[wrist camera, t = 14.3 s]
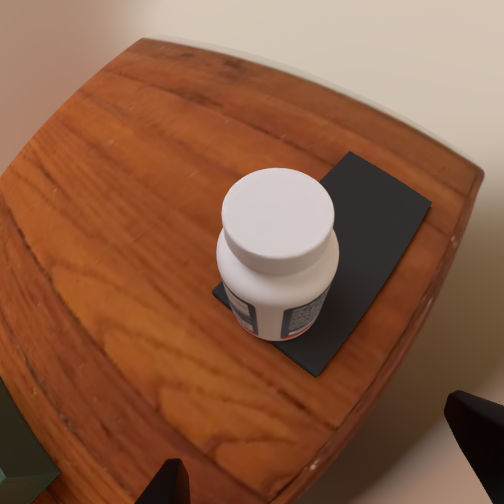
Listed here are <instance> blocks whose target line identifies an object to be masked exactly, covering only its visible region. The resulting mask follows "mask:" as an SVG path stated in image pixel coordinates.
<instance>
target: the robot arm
mask: <svg viewBox="0 0 504 504" xmlns="http://www.w3.org/2000/svg"><path fill="white" fill-rule="evenodd" d="M444 415H445V418H446V420H447V422H448V424H449V426H450V428H451V430H452V432H453V434H454V437H455V439H456V441H457V443H458V445H459V447H460V449H461V450H462V452H463V453H464V455H465V457H466V458H467V460H468V462H469V463H470V465H471V467H472V468H473V470H474V472H475V473H476V475H477V477H478V478H479V480H480V482H481V483H482V485H483V487H484V489H485V490H486V492H487V494H488V496H489V497H490V499H491V501H492V503H493V504H504V406H503V405H500V404H497V403H494V402H491V401H489V400H486V399H483V398H480V397H477V396H475V395H472V394H469V393H466V392H464V391H460V390H457V391H455V392H453V393H450V394H449V396H448V398H447V402H446V405H445V409H444ZM134 504H190V489H189V476H188V473H187V471H186V469H185V467H184V465H183V462H182V461H181V459H179V458H174V459H167V460H166V461H165V463H164V464H163V465H162V467H161V468H160V469H159V471H158V472H157V474H156V475H155V476H154V478H153V479H152V480H151V482H150V483H149V485H148V486H147V487H146V489H145V490H144V491H143V493H142V494H141V495H140V497H139V498H138V499H137V501H136V502H135V503H134Z"/></svg>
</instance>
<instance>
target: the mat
mask: <svg viewBox="0 0 504 504" xmlns="http://www.w3.org/2000/svg"><path fill="white" fill-rule="evenodd" d="M319 183H320V184H321V185H322V186H323V188H324V189H325V190H326V191H327V193H328V195H329V196H330V198H331V200H332V203H333V207H334V223H333V230H334V232H335V234H336V237H337V241H338V246H339V261H338V266H337V270H336V273H335V276H334V278H333V281H332V283H331V286H330V288H329V290H328V293H327V295H326V298H325V300H324V302H323V305H322V307H321V309H320V312H319V314H318V316H317V318H316V320H315V321H314V323H313V324H312V325H311V326H310V327H309V328H308V329H307V330H306V331H305V332H304V333H302V334H300V335H299V336H297V337H294V338H292V339H288V340H283V341H270V340H268V341H269V342H270V343H272V344H273V345H274V346H275V347H277V348H278V349H279V350H280V351H282V352H283V353H284V354H285V355H287V356H288V357H289V358H290V359H292V360H293V361H294V362H296V363H297V364H298V365H299V366H301V367H302V368H303V369H305V370H306V371H307V372H308V373H310V374H311V375H312V376H314V377H317V376H318V374H319V373H320V372H321V371H322V369H323V368H324V367H325V366H326V364H327V363H328V362H329V361H330V359H331V358H332V357H333V355H334V354H335V353H336V351H337V350H338V349H339V347H340V346H341V345H342V343H343V342H344V341H345V339H346V338H347V337H348V335H349V334H350V333H351V331H352V330H353V328H354V327H355V326H356V324H357V323H358V321H359V320H360V319H361V317H362V316H363V314H364V313H365V311H366V310H367V309H368V307H369V306H370V304H371V303H372V301H373V300H374V298H375V297H376V295H377V294H378V292H379V291H380V289H381V288H382V286H383V285H384V283H385V282H386V280H387V278H388V277H389V275H390V274H391V272H392V271H393V269H394V267H395V266H396V264H397V263H398V261H399V259H400V258H401V256H402V254H403V253H404V251H405V249H406V248H407V246H408V244H409V243H410V241H411V239H412V237H413V236H414V234H415V232H416V230H417V229H418V227H419V225H420V223H421V222H422V220H423V218H424V216H425V214H426V212H427V211H428V209H429V207H430V205H431V203H432V202H431V201H429V200H428V199H426V198H425V197H423V196H422V195H420V194H419V193H417V192H416V191H414V190H413V189H411V188H410V187H408V186H407V185H405V184H404V183H402V182H401V181H399V180H397V179H396V178H394V177H393V176H391V175H389V174H388V173H386V172H385V171H383V170H381V169H380V168H378V167H376V166H375V165H373V164H371V163H369V162H368V161H366V160H364V159H363V158H361V157H359V156H357V155H356V154H354V153H352V152H350V151H349V152H348V153H347V154H346V155H345V156H344V157H343V158H342V159H341V160H340V161H339V162H338V163H337V164H336V165H335V166H334V168H333V169H332V170H331V171H330V172H329V173H328V174H327V175H326V176H325V177H324V178H323V179H322V180H321V181H320V182H319ZM212 293H213V295H214V296H215V297H216V298H217V299H218V300H219V301H221V302H222V303H223V304H224V305H225V306H227V307H228V308H229V309H230V310H231V311H232V308H231V305H230V302H229V299H228V296H227V294H226V291H225V288H224V285H223V282H221V283H220V284H219V285H218V286H217V287H216V288H215V289H214V290H213V291H212Z"/></svg>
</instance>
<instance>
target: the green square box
mask: <svg viewBox="0 0 504 504" xmlns="http://www.w3.org/2000/svg"><path fill="white" fill-rule="evenodd" d="M60 473H61V471H60V470H59V469H58V468H57V466H56V465H55V464H54V462H53V461H52V460H51V458H50V457H49V456H48V454H47V453H46V452H45V450H44V449H43V447H42V446H41V444H40V443H39V442H38V440H37V439H36V437H35V436H34V434H33V433H32V431H31V430H30V428H29V427H28V425H27V423H26V422H25V420H24V419H23V417H22V415H21V414H20V412H19V410H18V409H17V407H16V405H15V403H14V402H13V400H12V398H11V396H10V395H9V393H8V391H7V389H6V387H5V385H4V383H3V381H2V379H1V377H0V504H31V503H32V502H33V501H34V500H35V499H36V498H37V497H38V496H39V495H40V494H41V493H42V492H43V491H44V490H45V489H46V488H47V487H48V485H49V484H50V483H51V482H52V481H53V480H54V479H55V478H56V477H57V476H58V475H59V474H60Z"/></svg>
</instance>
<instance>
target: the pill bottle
mask: <svg viewBox="0 0 504 504" xmlns="http://www.w3.org/2000/svg"><path fill="white" fill-rule="evenodd" d="M222 223H223V229H222V231H221V233H220V236H219V238H218V243H217V253H216V255H217V263H218V268H219V272H220V276H221V279H222V282H223V285H224V288H225V291H226V294H227V296H228V299H229V302H230V305H231V308H232V311H233V313H234V315H235V317H236V319H237V321H238V322H239V324H240V325H241V326H242V327H243V328H244V329H245V330H246V331H248V332H249V333H251V334H252V335H254V336H256V337H258V338H261V339H264V340H270V341H283V340H288V339H292V338H294V337H297V336H299V335H300V334H302V333H304V332H305V331H306V330H307V329H308V328H309V327H310V326H311V325H312V324H313V323H314V321H315V320H316V318H317V316H318V314H319V312H320V309H321V307H322V305H323V302H324V300H325V298H326V295H327V293H328V290H329V288H330V286H331V283H332V281H333V278H334V276H335V273H336V270H337V266H338V261H339V246H338V241H337V237H336V234H335V232H334V230H333V223H334V207H333V203H332V200H331V198H330V196H329V195H328V193H327V191H326V190H325V189H324V188H323V186H322V185H321V184H320V183H318V182H317V181H316V180H315V179H313V178H311V177H310V176H308V175H306V174H304V173H301V172H299V171H295V170H291V169H285V168H269V169H263V170H259V171H256V172H253V173H251V174H248V175H246V176H245V177H243V178H242V179H240V180H239V181H238V182H236V183H235V184H234V185H233V186H232V187H231V189H230V190H229V191H228V193H227V195H226V197H225V199H224V202H223V206H222Z"/></svg>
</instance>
